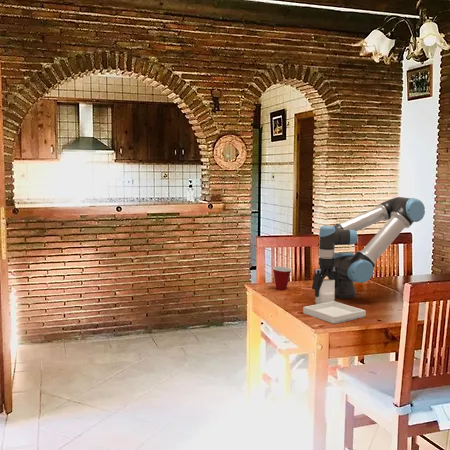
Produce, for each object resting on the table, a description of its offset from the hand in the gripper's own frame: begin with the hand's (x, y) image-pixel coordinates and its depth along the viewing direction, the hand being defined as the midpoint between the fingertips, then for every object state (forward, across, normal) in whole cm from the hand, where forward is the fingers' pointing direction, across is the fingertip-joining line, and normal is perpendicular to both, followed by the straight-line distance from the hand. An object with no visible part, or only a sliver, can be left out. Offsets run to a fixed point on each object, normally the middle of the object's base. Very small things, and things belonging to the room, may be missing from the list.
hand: (325, 301), depth 264 cm
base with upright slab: (+1, 0, 0) cm, 1 cm away
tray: (+1, +11, +17) cm, 20 cm away
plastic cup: (+1, -2, -36) cm, 36 cm away
